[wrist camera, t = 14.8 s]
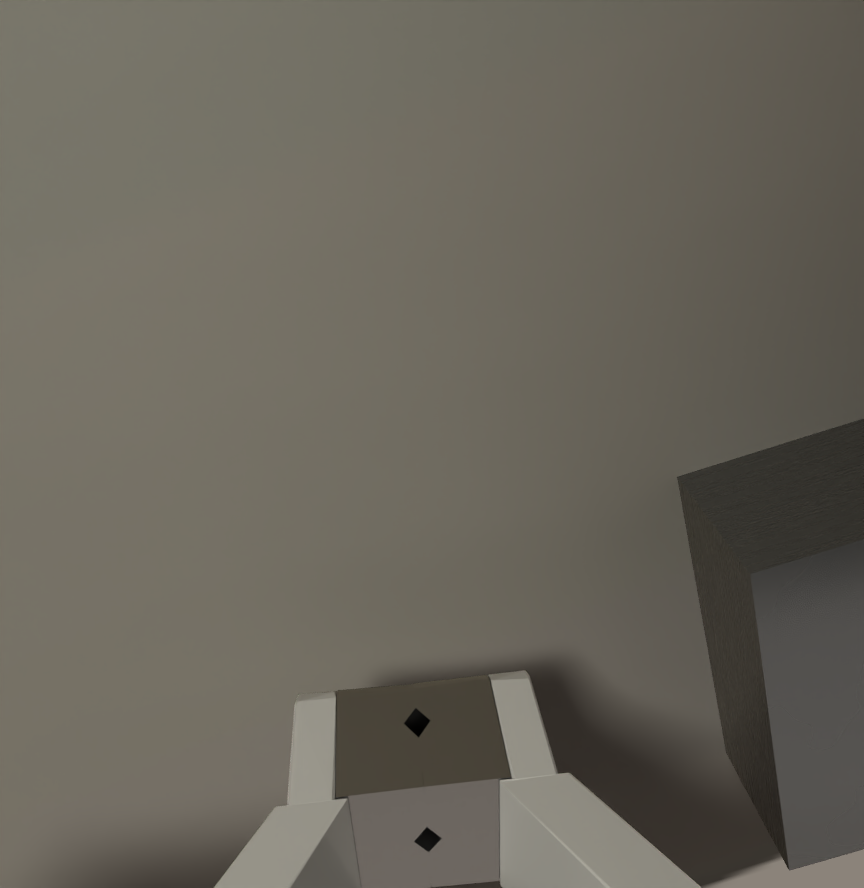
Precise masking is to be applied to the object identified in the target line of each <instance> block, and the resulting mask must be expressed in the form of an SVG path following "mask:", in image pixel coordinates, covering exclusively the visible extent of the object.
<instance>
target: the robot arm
mask: <svg viewBox="0 0 864 888" xmlns="http://www.w3.org/2000/svg"><path fill="white" fill-rule="evenodd" d="M493 881H500V885H501V886H502V887H503V888H702V887H700V886H699V885H698V884H697V883H696V882H695V881H694V880H692V879H691V878H690V877H689V876H688V875H687V874H686V873H684V872H683V871H682V870H681V869H680V868H679V867H678V866H676V865H675V864H674V863H673V862H672V861H671V860H670V859H668V858H667V857H666V856H665V855H664V854H663V853H661V852H660V851H659V850H658V849H657V848H656V847H655V846H653V845H652V844H651V843H650V842H649V841H648V840H647V839H645V838H644V837H643V836H642V835H641V834H640V833H639V832H637V831H636V830H635V829H634V828H633V827H632V826H631V825H629V824H628V823H627V822H626V821H625V820H624V819H623V818H621V817H620V816H619V815H618V814H617V813H616V812H614V811H613V810H612V809H611V808H610V807H609V806H608V805H606V804H605V803H604V802H603V801H602V800H601V799H600V798H598V797H597V796H596V795H595V794H594V793H593V792H592V791H590V790H589V789H588V788H587V787H586V786H585V785H584V784H582V783H581V782H580V781H579V780H578V779H577V778H575V777H574V776H573V775H572V774H571V773H559V774H558V771H557V768H556V765H555V761H554V758H553V754H552V751H551V747H550V744H549V740H548V737H547V734H546V730H545V727H544V723H543V720H542V716H541V713H540V709H539V706H538V702H537V699H536V696H535V692H534V689H533V685H532V682H531V678H530V675H529V674H528V673H527V672H526V671H525V670H523V671H515V672H506V673H498V674H489V675H488V677H487V675H480V676H472V677H463V678H455V679H446V680H438V681H429V682H421V683H413V684H408V685H396V686H384V687H371V688H359V689H347V690H338V691H333V692H320V693H307V694H298V696H297V699H296V702H295V706H294V719H293V733H292V746H291V759H290V772H289V785H288V799H287V805H284V806H277V807H274V809H273V810H272V811H271V813H270V814H269V815H268V817H267V818H266V819H265V821H264V822H263V823H262V825H261V826H260V827H259V828H258V830H257V831H256V832H255V834H254V835H253V836H252V838H251V839H250V840H249V842H248V843H247V844H246V846H245V847H244V848H243V850H242V851H241V852H240V854H239V855H238V856H237V858H236V859H235V860H234V862H233V863H232V864H231V866H230V867H229V868H228V869H227V871H226V872H225V873H224V875H223V876H222V877H221V879H220V880H219V881H218V883H217V884H216V885H215V887H214V888H430V887H431V886H432V887H440V886H451V885H461V884H472V883H482V882H493Z"/></svg>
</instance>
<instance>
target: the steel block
mask: <svg viewBox="0 0 864 888" xmlns="http://www.w3.org/2000/svg"><path fill="white" fill-rule="evenodd" d="M677 479H678V484H679V490H680V496H681V501H682V507H683V512H684V518H685V524H686V529H687V535H688V541H689V546H690V552H691V557H692V563H693V569H694V574H695V580H696V586H697V591H698V597H699V602H700V608H701V614H702V619H703V625H704V630H705V636H706V642H707V647H708V653H709V659H710V664H711V670H712V675H713V681H714V687H715V692H716V698H717V704H718V709H719V715H720V720H721V726H722V732H723V737H724V743H725V748H726V753H727V755H728V757H729V759H730V760H731V762H732V764H733V766H734V768H735V770H736V772H737V774H738V775H739V777H740V779H741V781H742V783H743V785H744V787H745V789H746V790H747V792H748V794H749V796H750V798H751V800H752V802H753V803H754V805H755V807H756V809H757V811H758V813H759V815H760V817H761V818H762V820H763V822H764V824H765V826H766V828H767V830H768V832H769V833H770V835H771V837H772V839H773V841H774V843H775V845H776V847H777V848H778V850H779V852H780V854H781V856H782V858H783V860H784V861H785V863H786V865H787V867H788V869H789V870H793V869H796V868H800V867H803V866H807V865H810V864H813V863H817V862H821V861H824V860H827V859H831V858H835V857H838V856H841V855H845V854H848V853H852V852H855V851H859V850H862V849H864V419H861V420H858V421H855V422H851V423H848V424H845V425H842V426H839V427H835V428H832V429H829V430H826V431H823V432H819V433H816V434H813V435H810V436H807V437H803V438H800V439H797V440H794V441H791V442H787V443H784V444H781V445H778V446H775V447H771V448H768V449H765V450H762V451H759V452H755V453H752V454H749V455H746V456H743V457H739V458H736V459H733V460H730V461H727V462H723V463H720V464H717V465H714V466H711V467H707V468H704V469H701V470H698V471H695V472H691V473H688V474H685V475H682V476H679V477H677Z"/></svg>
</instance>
